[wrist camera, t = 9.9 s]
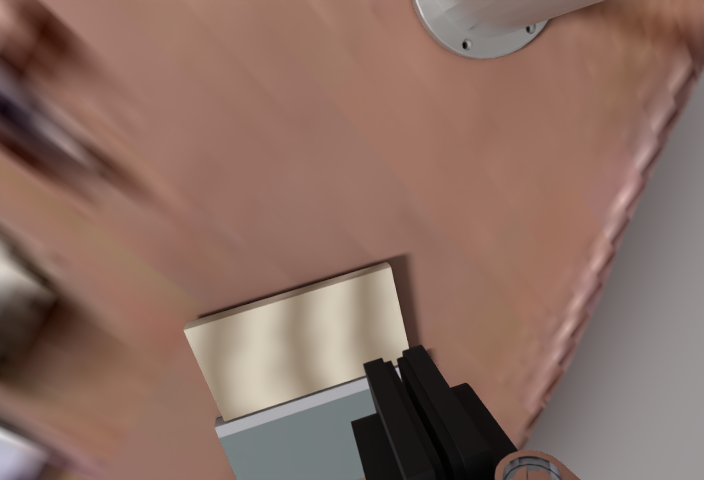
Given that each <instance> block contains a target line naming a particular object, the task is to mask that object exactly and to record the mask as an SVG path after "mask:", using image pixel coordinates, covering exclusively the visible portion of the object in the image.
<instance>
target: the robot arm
mask: <svg viewBox="0 0 704 480" xmlns="http://www.w3.org/2000/svg"><path fill="white" fill-rule="evenodd" d="M601 1H604V0H412V2H413V5H414V9H415V12H416V14H417V16H418V18H419V19H420V21H421V23H422V25H423V27H424V28H425V29H426V31H427V32H428V33H429V35H430V36H431V37H432V38H433V39H434V40H435V41H436V42H437V43H438V44H440V45H441V46H442V47H443V48H444V49H446V50H448V51H450V52H452V53H454V54H455V55H458V56H461V57H465V58H468V59H479V60H485V59H492V58H498V57H501V56H504V55H508V54H510V53H512V52H514V51H516V50H518V49H520V48H522V47H523V46H525V45H526V44H527V43H528V42H530V41H531V40H532V39H534V37H535V36H536V35H537V34H538V33H539V32H540V31H541V30H542V29H543V28H544V26H545V25H546V23H547V21H548V20H549V19H551V18H554V17H557V16H560V15H563V14H566V13H569V12H572V11H575V10H578V9H580V8H583V7H586V6H589V5H592V4H595V3H598V2H601ZM526 28H527V31H526ZM462 43H464V44H465V49H463V47H462ZM402 355H403V356H402V357H399V358H397V364H398V368H399V372H400V376H401V379H400V377H399V375H398V373H397V371H396V369H395V367H394V365H393V363H392V361H391V360H390V361H387V362H384V361H383V359H382V358H379V359H376V360H373V361H369V362H366V363H363V367H364V370H365V374H366V378H367V381H368V385H369V388H370V392H371V395H372V399H373V403H374V406H375V410H376V413H374V414H371V415H369V416H366V417H363V418H360V419H357V420H354V421H351V425H352V429H353V433H354V437H355V441H356V444H357V448H358V452H359V456H360V460H361V463H362V467H363V471H364V475H365V479H366V480H580V479H579V478H578V477H577V476H576V475H575V474H574V473H572V472H571V471H570V470H569V469H568V468H567V467H566V466H565V465H564V464H563V463H561V462H560V461H558V460H557V459H556V458H554V457H553V456H551V455H548V454H546V453H543V452H539V451H533V450H523V451H518V450H517V449H516V447H515V446H514V445H513V443H512V442H511V441H510V439H509V438H508V436H507V435H506V434H505V432H504V431H503V430H502V428H501V427H500V426H499V424H498V423H497V422H496V420H495V419H494V418H493V416H492V415H491V413H490V412H489V411H488V409H487V408H486V407H485V405H484V404H483V403H482V401H481V400H480V399H479V397H478V396H477V395H476V393H475V392H474V390H473V389H472V388H471V387H470V385H469V384H467V383H463V384H460V385H457V386H454V387H451V388H450V387H449V385H448V384H447V382H446V381H445V379H444V378H443V376H442V375H441V373H440V372H439V370H438V368H437V367H436V365H435V364H434V362H433V361H432V359H431V358H430V356H429V355H428V353H427V352H426V350H425V349H424V347H423V346H422V345H419V346H416V347H413V348H409V349H406V350H403V351H402ZM401 380H402V381H401Z"/></svg>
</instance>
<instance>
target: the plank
mask: <svg viewBox="0 0 704 480" xmlns="http://www.w3.org/2000/svg"><path fill="white" fill-rule="evenodd" d="M184 332H185V334H186V337H187V339H188V341H189V343H190V346H191V348H192V350H193V352H194V355H195V357H196V359H197V361H198V364H199V366H200V368H201V370H202V372H203V375H204V377H205V379H206V381H207V384H208V386H209V388H210V390H211V393H212V395H213V397H214V399H215V402H216V404H217V406H218V408H219V411H220V413H221V415H222V417H223V420H224V422H225V421H228V420H231V419H234V418H237V417H240V416H243V415H246V414H249V413H252V412H255V411H258V410H261V409H264V408H267V407H270V406H274V405H277V404H280V403H283V402H286V401H289V400H292V399H295V398H298V397H301V396H304V395H307V394H310V393H313V392H316V391H319V390H322V389H325V388H328V387H331V386H334V385H338V384H341V383H344V382H347V381H350V380H353V379H356V378H359V377H362V376H365V375H366V374H365V370H364V367H363V363H366V362H369V361H373V360H376V359H379V358H382V359H383V361H384V362H387V361H390V360H391V361H392V363H393V365H394V366H395V365H398V364H397V358H399V357H402V356H403V355H402V351H403V350H406V349H409V346H408V342H407V337H406V333H405V328H404V324H403V319H402V315H401V310H400V306H399V302H398V297H397V293H396V288H395V284H394V279H393V275H392V270H391V267H390V265H389V264H388V262H385V263H382V264H379V265H375V266H372V267H369V268H365V269H362V270H359V271H356V272H352V273H349V274H346V275H342V276H339V277H336V278H332V279H329V280H326V281H323V282H319V283H316V284H313V285H309V286H306V287H303V288H300V289H296V290H293V291H290V292H286V293H283V294H280V295H276V296H273V297H270V298H267V299H263V300H260V301H257V302H253V303H250V304H247V305H243V306H240V307H237V308H234V309H230V310H227V311H224V312H220V313H217V314H214V315H210V316H207V317H204V318H201V319H197V320H194V321H191V322H187V323H186V324H185V328H184Z"/></svg>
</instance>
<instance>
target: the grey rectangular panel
mask: <svg viewBox="0 0 704 480" xmlns="http://www.w3.org/2000/svg"><path fill="white" fill-rule="evenodd" d="M394 367H395V369H396V371H397V373H398V375H399V377H400V379H401V376H400V372H399V368H398V365H395V366H394ZM401 381H402V380H401ZM374 413H376V410H375V406H374V403H373V399H372V395H371V392H370V388H369V385H368V381H367V378H366V375H365V376H362V377H359V378H356V379H353V380H350V381H347V382H344V383H341V384H338V385H334V386H331V387H328V388H325V389H322V390H319V391H316V392H313V393H310V394H307V395H304V396H301V397H298V398H295V399H292V400H289V401H286V402H283V403H280V404H277V405H274V406H270V407H267V408H264V409H261V410H258V411H255V412H252V413H249V414H246V415H243V416H240V417H237V418H234V419H231V420H228V421H225V422H224V420H223V417H219V418H216V423H215V430H216V432H217V435H218V437H219V439H220V441H221V444H222V446H223V449H224V451H225V453H226V456H227V458H228V460H229V463H230V465H231V467H232V470H233V472H234V474H235V477H236V479H237V480H358V479H360V478H363V477H365V475H364V471H363V467H362V463H361V460H360V456H359V452H358V448H357V444H356V441H355V437H354V433H353V429H352V425H351V421H354V420H357V419H360V418H363V417H366V416H369V415H371V414H374Z"/></svg>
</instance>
